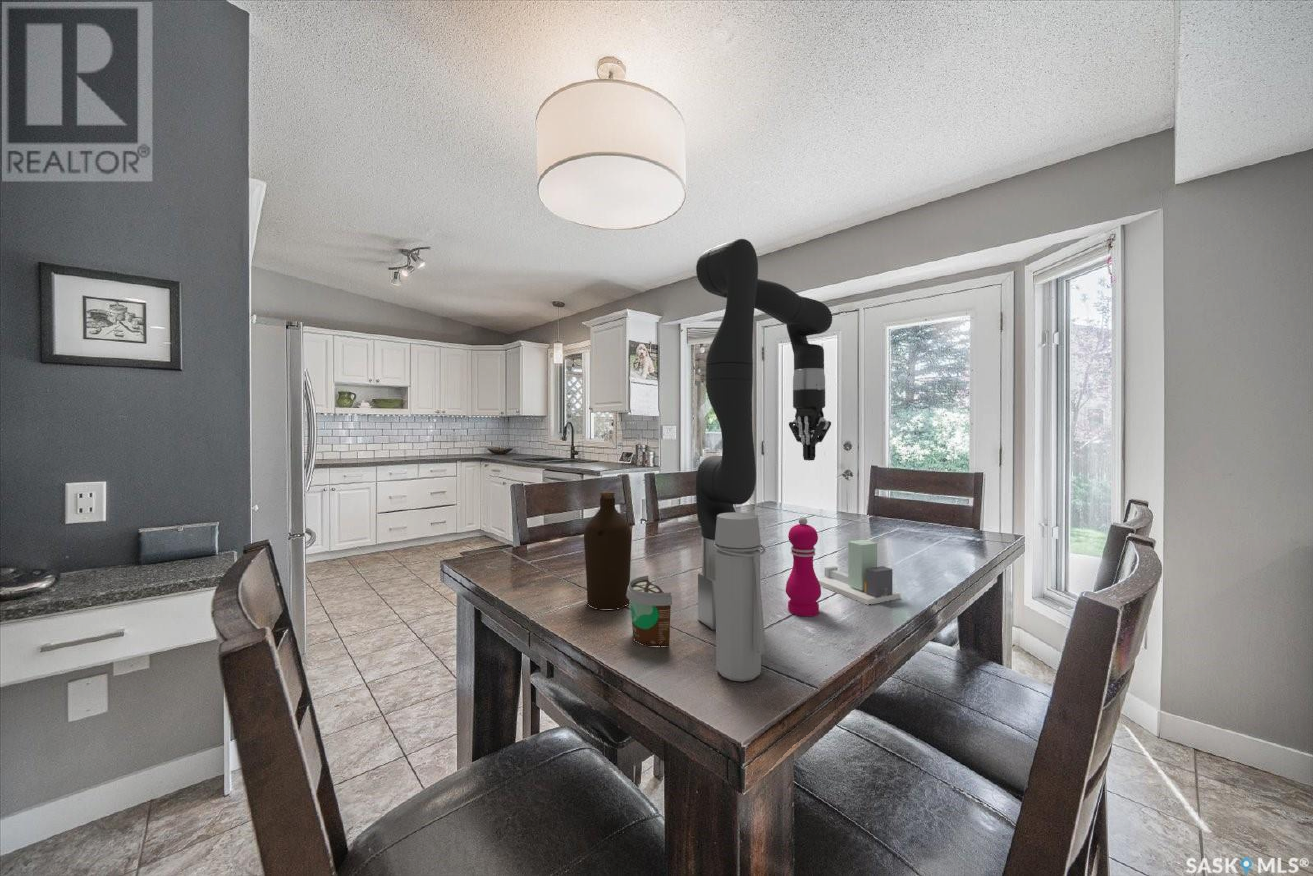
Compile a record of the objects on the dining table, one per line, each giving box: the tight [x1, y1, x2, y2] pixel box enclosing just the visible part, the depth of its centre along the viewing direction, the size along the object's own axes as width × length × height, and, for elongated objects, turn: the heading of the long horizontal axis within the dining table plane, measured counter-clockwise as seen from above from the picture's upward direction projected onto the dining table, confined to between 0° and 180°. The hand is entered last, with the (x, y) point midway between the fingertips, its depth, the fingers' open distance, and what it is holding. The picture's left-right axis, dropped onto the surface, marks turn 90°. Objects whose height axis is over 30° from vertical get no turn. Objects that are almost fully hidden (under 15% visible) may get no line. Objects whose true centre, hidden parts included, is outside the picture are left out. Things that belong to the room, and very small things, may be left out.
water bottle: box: [714, 511, 767, 682], centre depth 78 cm, size 9×8×25 cm
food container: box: [626, 575, 673, 648], centre depth 92 cm, size 12×6×10 cm, turn 22°
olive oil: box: [583, 490, 633, 610], centre depth 111 cm, size 11×11×25 cm
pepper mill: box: [785, 516, 822, 617], centre depth 105 cm, size 7×7×20 cm
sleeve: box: [847, 539, 878, 591], centre depth 116 cm, size 5×4×10 cm
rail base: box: [817, 565, 902, 606], centre depth 119 cm, size 10×17×7 cm, turn 23°
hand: (809, 460), depth 121 cm, fingers closed
